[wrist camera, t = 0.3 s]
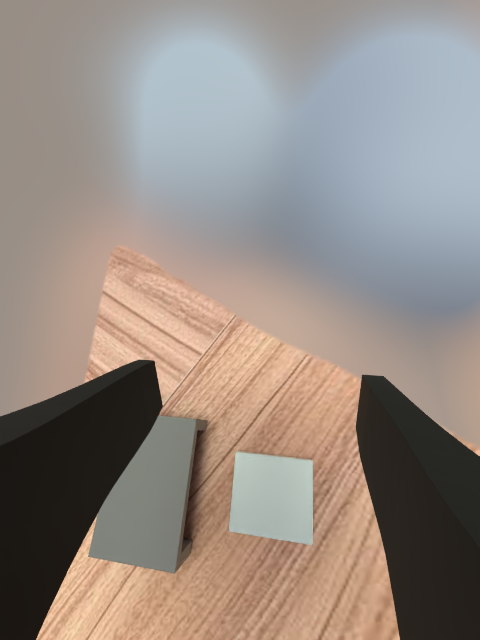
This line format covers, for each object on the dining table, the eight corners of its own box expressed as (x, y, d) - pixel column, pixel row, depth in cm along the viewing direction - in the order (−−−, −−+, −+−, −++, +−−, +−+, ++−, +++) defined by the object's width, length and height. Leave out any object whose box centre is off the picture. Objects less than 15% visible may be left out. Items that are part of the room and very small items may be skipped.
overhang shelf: (190, 552, 33) (174, 573, 28) (115, 539, 34) (88, 556, 30) (207, 420, 38) (196, 419, 33) (140, 414, 39) (121, 411, 35)
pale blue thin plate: (310, 536, 32) (312, 545, 30) (232, 524, 34) (228, 531, 31) (311, 458, 35) (313, 460, 33) (238, 450, 36) (235, 451, 34)
